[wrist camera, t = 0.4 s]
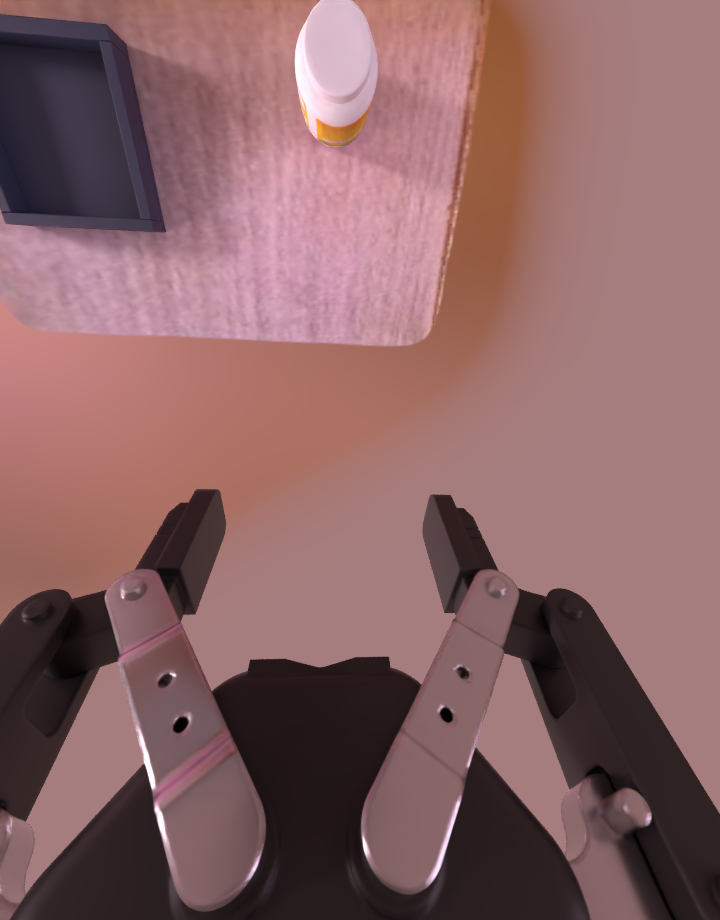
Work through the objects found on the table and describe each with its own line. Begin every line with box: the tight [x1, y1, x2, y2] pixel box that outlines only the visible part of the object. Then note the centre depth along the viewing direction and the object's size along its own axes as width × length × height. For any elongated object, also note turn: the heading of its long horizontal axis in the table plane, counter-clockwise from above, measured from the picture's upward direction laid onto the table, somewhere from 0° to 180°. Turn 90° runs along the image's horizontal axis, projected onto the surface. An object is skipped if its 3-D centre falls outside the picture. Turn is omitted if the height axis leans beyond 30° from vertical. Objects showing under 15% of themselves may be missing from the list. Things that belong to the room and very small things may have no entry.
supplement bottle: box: [295, 0, 378, 147], centre depth 24 cm, size 5×5×10 cm
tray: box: [0, 14, 166, 232], centre depth 27 cm, size 12×12×3 cm
